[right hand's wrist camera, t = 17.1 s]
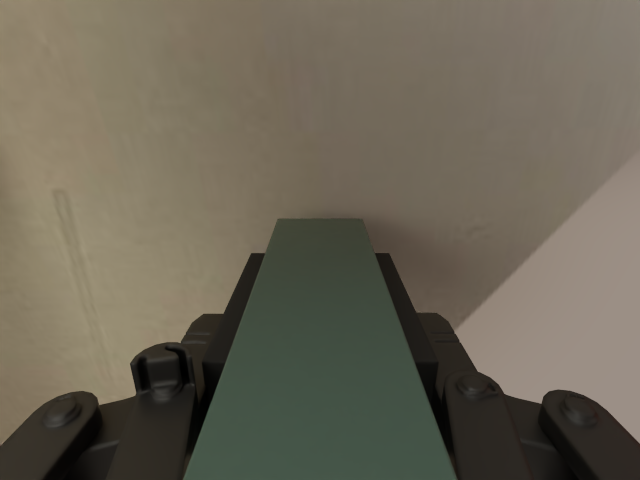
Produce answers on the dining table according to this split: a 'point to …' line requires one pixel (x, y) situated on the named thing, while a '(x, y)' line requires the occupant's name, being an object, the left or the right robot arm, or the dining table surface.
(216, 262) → the dining table surface
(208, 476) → the peg
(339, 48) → the dining table surface
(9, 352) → the dining table surface
